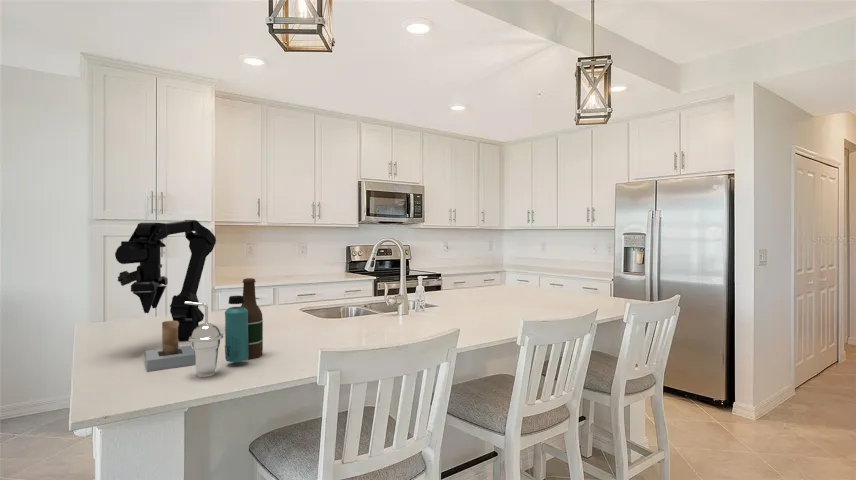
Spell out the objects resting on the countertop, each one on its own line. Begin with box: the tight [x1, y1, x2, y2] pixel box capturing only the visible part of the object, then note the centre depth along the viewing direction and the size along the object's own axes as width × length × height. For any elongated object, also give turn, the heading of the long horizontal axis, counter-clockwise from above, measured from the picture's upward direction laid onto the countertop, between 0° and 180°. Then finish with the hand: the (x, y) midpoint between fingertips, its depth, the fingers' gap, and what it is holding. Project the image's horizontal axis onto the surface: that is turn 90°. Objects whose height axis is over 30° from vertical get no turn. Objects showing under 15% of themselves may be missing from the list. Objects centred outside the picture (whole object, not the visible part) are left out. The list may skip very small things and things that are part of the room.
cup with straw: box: [185, 301, 224, 378], centre depth 125 cm, size 8×9×20 cm
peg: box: [161, 320, 179, 356], centre depth 135 cm, size 4×4×12 cm
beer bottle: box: [240, 277, 264, 360], centre depth 142 cm, size 8×8×24 cm
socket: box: [144, 344, 196, 373], centre depth 135 cm, size 12×12×3 cm
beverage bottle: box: [224, 295, 249, 363], centre depth 134 cm, size 6×7×20 cm
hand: (150, 310), depth 147 cm, fingers open, 9 cm apart
